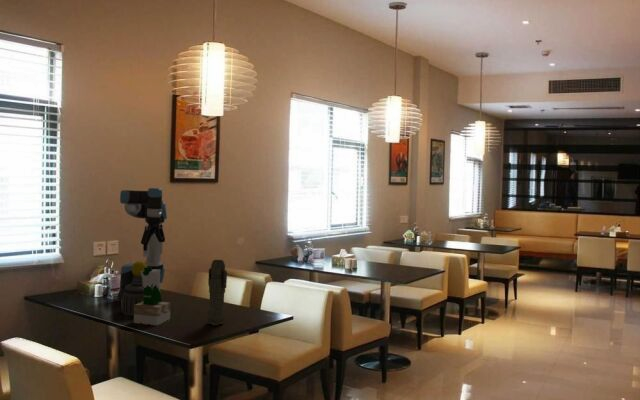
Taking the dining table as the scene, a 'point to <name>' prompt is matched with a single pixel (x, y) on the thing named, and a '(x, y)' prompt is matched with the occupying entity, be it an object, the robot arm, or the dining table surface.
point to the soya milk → (151, 286)
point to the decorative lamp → (133, 290)
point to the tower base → (151, 319)
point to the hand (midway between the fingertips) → (152, 255)
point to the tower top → (152, 309)
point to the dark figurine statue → (217, 291)
